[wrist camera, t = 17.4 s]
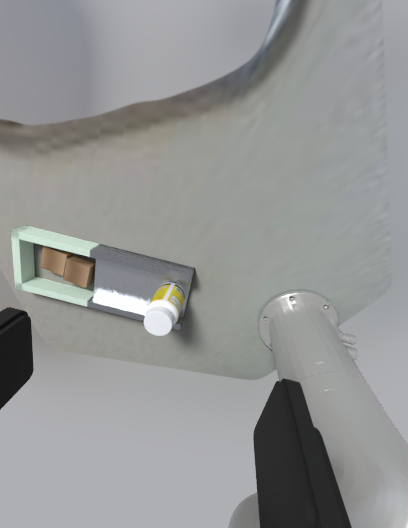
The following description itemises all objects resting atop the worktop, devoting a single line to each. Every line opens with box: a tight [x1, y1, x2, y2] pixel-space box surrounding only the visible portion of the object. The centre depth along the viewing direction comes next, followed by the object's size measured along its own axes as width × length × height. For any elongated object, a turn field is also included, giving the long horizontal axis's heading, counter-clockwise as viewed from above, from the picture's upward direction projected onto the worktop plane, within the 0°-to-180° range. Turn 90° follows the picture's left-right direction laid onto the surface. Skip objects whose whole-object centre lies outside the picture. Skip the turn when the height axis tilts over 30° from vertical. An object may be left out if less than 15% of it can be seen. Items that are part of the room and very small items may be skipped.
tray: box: [11, 225, 99, 307], centre depth 42 cm, size 13×10×3 cm
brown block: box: [63, 255, 96, 288], centre depth 42 cm, size 4×4×2 cm
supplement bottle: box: [144, 282, 185, 336], centre depth 38 cm, size 5×5×8 cm
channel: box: [87, 244, 195, 330], centre depth 41 cm, size 16×10×3 cm, turn 77°
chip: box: [40, 246, 73, 276], centre depth 42 cm, size 4×4×2 cm
